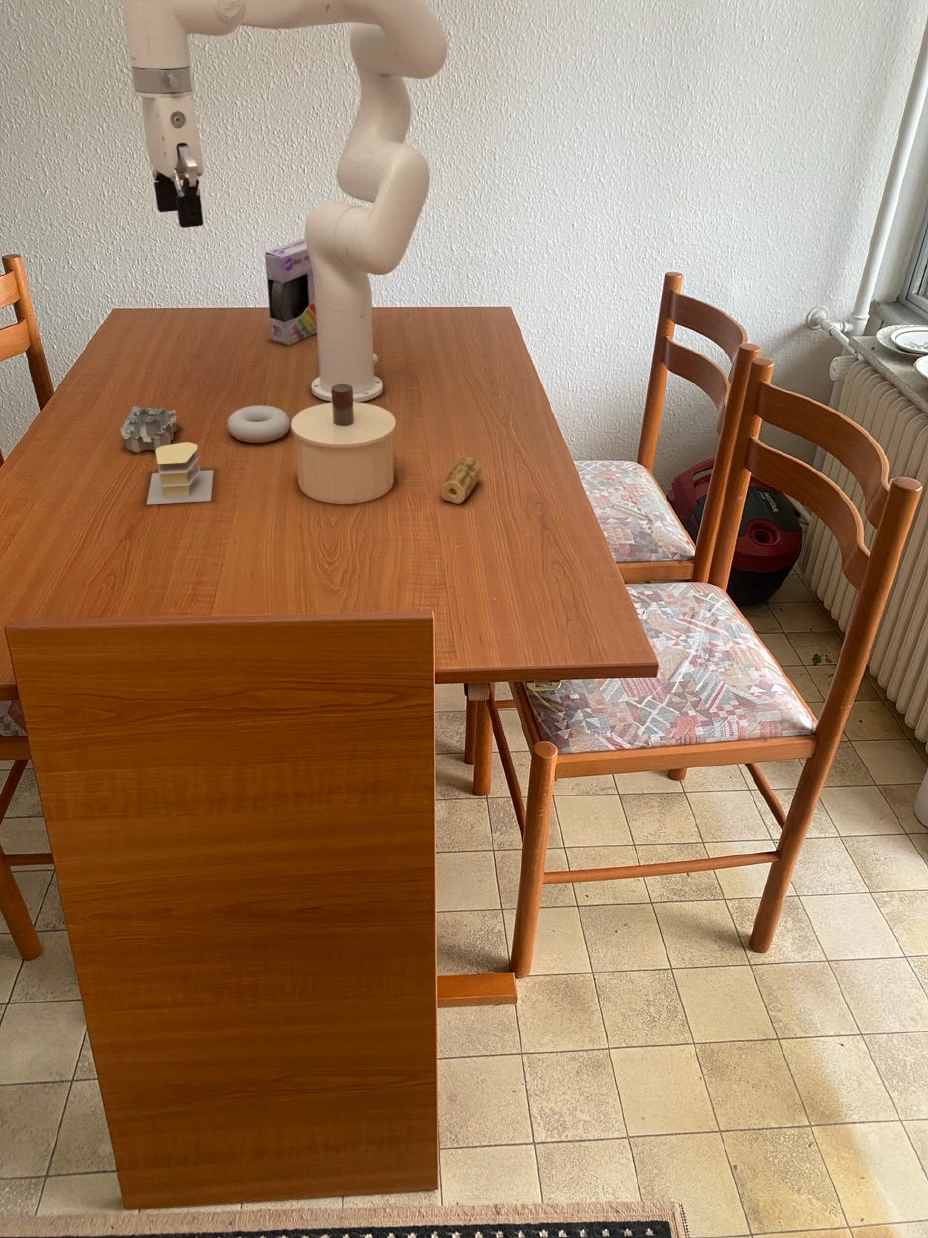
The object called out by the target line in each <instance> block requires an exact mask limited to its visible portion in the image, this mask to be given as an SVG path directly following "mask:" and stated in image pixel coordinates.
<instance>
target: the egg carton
mask: <svg viewBox="0 0 928 1238" xmlns="http://www.w3.org/2000/svg"><path fill="white" fill-rule="evenodd" d="M177 417H178V416H177V411H176V410H175V409H172V410H171V411H167V410H166V409H165V408H164V407H162V408H160V409H158V408H155V407H152V408H151V407H148V406H146V408H144V407H140V406H135V405H133V406H132V409H131V411H130V413H129V414H128V416H126V419H125V421H124V423H123V425H122V427H120V429H119V430H120V433H121V435H122V438H123V439H124V441H125V447H126V450H129V451H132V452H133V453H138V454H139V453H141V452H143V451H146V450H147V451H148V450H149V451H150V450H152V451H155V450H156V449H157V448H159V447H161V446H166V445H172V440H174V432H177V430H178V429H177V428H178V427H177V425H176V420H177Z"/></svg>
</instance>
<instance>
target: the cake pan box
mask: <svg viewBox="0 0 928 1238" xmlns="http://www.w3.org/2000/svg"><path fill="white" fill-rule="evenodd" d="M264 260H265V272H266V283H267V284H266V285H267V293H268V294H267V295H268V310H269V323H270V332H271V333H270V334H271V341H272V342H274V343H278V344H280V345H284V346H290V345H292V344H295V343H297V342H299V341H301V340H303V339H305V338H308V337H310V336H312V335H315V334H317V322H316V306H315V288H314V278H313V271H312V265H311V261H310V257H309V253H308V249H307V245H306V239H305V238H300V239H298V240H294V241H292V242H289V243H287V244H284V245H282V246H279V247H276V248H272V249H269V250H265V253H264Z"/></svg>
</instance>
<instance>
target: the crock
mask: <svg viewBox="0 0 928 1238" xmlns="http://www.w3.org/2000/svg"><path fill="white" fill-rule="evenodd" d="M294 442H295V445H294V446H295V456H296V470H297V481H298V486H299V489H300V490H301V491H302V493H303V494H305V495H307V497H309V498H311V499H313V500H316V501H318V502H319V501H320V502H322V503H329V504H337V505H351V504H352V505H353V504H360V503H361V504H362V503H365V502H369V501H373V500H375V499H378V498H381V497H382V496H384V495H385V494H387V493H388V492H389V491H391V489H392V487H393V485H394V483H395V482H394V481H395V480H394V432H393V433H392V434H391V435H390V436H388V437H387V438H385V439H383V440H381V441H379V442H376V443H373V444H370V445H365V446H359V447H350V448H333V447H323V446H318V445H314V444H310V443H307V442H305V441H303V440H301V439H299V438H298V437H296V436H295V435H294Z"/></svg>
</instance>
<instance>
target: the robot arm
mask: <svg viewBox="0 0 928 1238" xmlns="http://www.w3.org/2000/svg"><path fill="white" fill-rule="evenodd" d="M121 4H122V5H121V6H122V12H123V20H124V24H125V26H124V27H125V32H126V37H127V38H126V40H127V48H128V54H129V60H130V68H131V69H130V70H131V75H132V82H133V89H134V95H135V96H137V97H141V106H142V107H141V108H142V109H141V110H142V116H143V117H142V118H143V126H144V127H143V129H144V135H145V136H144V137H145V144H146V150H147V156H148V161H149V164H150V166H151V167H152V178H153V186H154V192H155V199H156V207H157V211H158V212H159V213H167V212H177V217H178V225H179V227H181V228H182V229H185V228H186V229H187V228H195V227H202V226H203V225H204V217H203V209H202V200H201V189H200V186H199V185H200V180H199V178H200V177H201V178H202V176H204V175H203V174H204V173H205V170H204V169H205V168H204V161H203V156H202V148H201V142H200V137H199V130H198V124H197V123H198V122H197V119H196V114H195V110H194V105H193V101H192V97H191V96H194V94H195V93H194V83H193V75H192V74H193V73H192V66H191V65H192V64H191V56H190V48H189V38H188V35H191V34H192V35H193V34H195V35H204V36H209V37H210V36H213V37H222V36H226V35H229V34H231V33H234V32H235V31H236V30H237V29H238V28H239V27H241V26H243V27H253V28H260V29H269V30H293V29H299V28H300V29H301V28H307V27H316V26H324V25H326V26H327V25H336V24H344V23H346V24H347V23H352V24H351V25H352V26H351V28H350V33H349V46H350V47H349V49H350V52H351V56H352V59H353V62H354V64H355V68H356V71H357V74H358V79H359V83H360V101H359V106H358V109H357V112H356V115H355V118H354V121H353V124H352V126H351V128H350V130H349V134H348V137H347V139H346V142H345V145H344V148H343V150H342V153H341V155H340V157H339V161H338V165H337V169H336V181H337V184H338V187H339V189H341V191H342V192H343V193H344V194H346V195H347V196H349V197H351V198H353V199H356V200H360V201H363V202H367V203H371V204H373V205H372V208H367V207H364V206H360V205H356V204H352V203H348V202H344V201H338V200H331V201H330V200H329V201H325V202H322V203H320V204H318V205H316V206H315V207H314V208H312V210H311V211H310V212H309V214H308V216H307V219H306V221H305V226H304V239H306V245H307V249H308V253H309V257H310V261H311V265H312V271H313V278H314V288H315V306H316V322H317V333H316V337H317V353H318V370H319V371H318V373H319V376H318V377H317V378H315V379H314V380H313V381H312V382H311V384H310V385H311V386H310V387H311V393H312V395H314V396H315V397H317V398H318V399H320V400H323V401H325V402H329V403H332V390H331V388H332V386H334V385H337V384H348V385H351V386H352V387H353V402H358V403H364V402H367V401H370V400H373V399H375V398H377V397H379V396H380V395H381V394H382V393H383V390H384V385H383V381H382V380H381V378H379V377H377V376H376V375H375V369H374V366H375V364H377V363H378V361H379V357H378V355H377V354H376V353H374V336H373V335H374V333H373V332H374V331H373V295H372V285H371V281H370V278H369V274H371V275H375V276H384V275H388V274H390V273H391V272H393V271H394V270H395V269H396V268H397V267H398V266H399V265H400V263H401V262H402V260H403V258H404V255H405V254H406V252H407V250H408V246H409V244H410V242H411V240H412V237H413V234H414V231H415V230H416V229H415V228H416V226H417V224H418V221H419V218H420V216H421V214H422V211H423V208H424V206H425V203H426V200H427V197H428V193H429V190H430V179H431V177H430V176H431V175H430V167H429V163H428V160H427V159H426V157H425V155H424V154H423V152H421V150H419V149H418V148H416V147H414V146H413V145H409V144H406V143H405V141H406V137H407V134H408V131H409V129H410V126H411V121H412V103H411V99H410V96H409V92H408V89H407V86H406V81H405V79H404V78H409V79H415V80H426V79H430V78H432V77H434V76H436V75H438V73H440V71H442V69H443V67H444V65H445V63H446V61H447V55H448V40H447V39H448V38H447V35H446V32H445V29H444V27H443V25H442V23H441V21H440V19H439V18H438V17H437V15H436V14H435V13H434V10H433V9H432V8H431V7H430V5H429V4H428V3H427V1H426V0H121Z"/></svg>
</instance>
